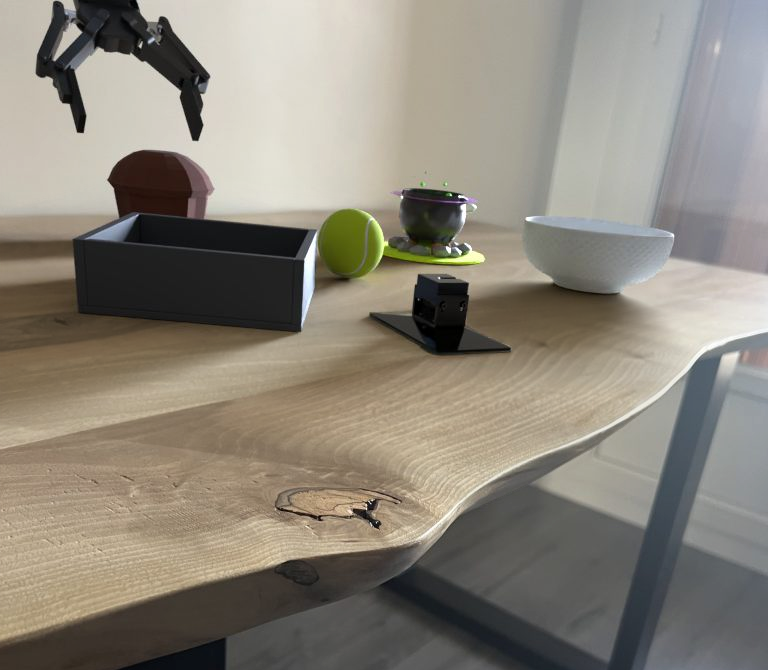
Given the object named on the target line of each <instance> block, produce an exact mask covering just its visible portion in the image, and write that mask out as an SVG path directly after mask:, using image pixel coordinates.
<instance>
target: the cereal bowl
mask: <svg viewBox="0 0 768 670" xmlns="http://www.w3.org/2000/svg"><path fill="white" fill-rule="evenodd" d="M521 234H522V235H521V238H522V242H521V243H522V248H523V252H524V255H525V257H526V259H527V260H528V262H529V263H530V264H531V265H532V266H533V267H534V268H535V269H537V270H538V271H539V272H541V273H542V274H545V275H547V276H548V277H549V278H550V279H551V281H552V282H553V283H554V284H555V285H556V286H559V287H561V288H564V289H569V290H573V291H577V292H584V293H593V294H618V293H620V292H622V291H623V290H624V289H625V288H626V287H631V286H634V285H637V284H640V283H643V282H646V281H648V280H650V279H652V278H653V277H654V276H656V275H657V274H658V273H660V272H661V270H662V269H663V268H665V266H666V263H667V261H668V260H669V257H670V256H671V252H672V249H673V245H674V242H675V234H674V233H672V232H670V231H667V230H664V229H660V228H655V227H651V226H646V225H645V226H644V225H641V224H635V223H627V222H620V221H613V220H604V219H596V218H586V217H575V216H559V215H558V216H557V215H534V216H533V215H532V216H527V217H525V218H524V220H523V225H522V233H521Z"/></svg>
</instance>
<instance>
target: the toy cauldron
mask: <svg viewBox="0 0 768 670" xmlns="http://www.w3.org/2000/svg"><path fill="white" fill-rule="evenodd" d="M438 165H440V163H438V164H437V166H438ZM451 165H452V166H453V167H454V166H455V164H449V166H451ZM427 173H428V172H427V171H424V175H430V174H427ZM412 176H413V175H412ZM413 177H415V176H413ZM426 179H428V180H429V178H426ZM462 181H464V182H468V179H464V178H462ZM419 185H420V186H421V187H422V188H421V187H420V188H419V187H418V188H417V187H408V188H405V189H402V190H397V191H396V190H395V191H389V193H390V194H391V195H392V194H393V195H394V196H398V198H399V199H401V200H400V202H399V213H398V214H399V215H398V218H399V223H400V226H401V230H402V231H403V233H404V234H405V236H392V237H391V238H389V239H388V240H387V241H384V250H383V254H382V256H386V257H391V258H394V259H399V260H404V261H411V262H418V263H425V264H438V265H475V264H476V265H477V264H481V263H483V262H485V256H484V255H483V254H481V253H480V252H477V251H474V250H472V246H471V245H470V244H467V243H466V242H463V243H460V244H459V243H457V242H455V241H453V240H455V238H456V237H458V235H460V233H461V231H462V229H463V227H464V224H465V222H466V215H467V214H471V213H473V212H475V211H476V210H477V206H476V205H475V204H474V203H479V200H477V199H474V198H470V197H467V196H466V197H465V194H463V193H459V192H457V191H449V190H442V189H433V188H423V187H424V186H425V183H424V182H423V181H421V182H420V184H419ZM442 186H443V187H446V186H447V182H445V181H444V182H443V183H442ZM466 205H469V206H471V207H472V209H470V210H467V207H466Z"/></svg>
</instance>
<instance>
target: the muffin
mask: <svg viewBox="0 0 768 670" xmlns="http://www.w3.org/2000/svg"><path fill="white" fill-rule="evenodd" d="M106 181H107V182H108V184H109V185H110V186H111V187H112V188H113V194H114V198H115V203H116V209H117V213H118V219H119V218H121V217H123V216H126V215H128V214H130V213H132V212H137V213H147V214H158V215H168V216H179V217H189V218H200V219H206V213H207V207H208V199H209V197H210V196H212V195H213V193H214V191H215V189H216V188H215V187H214V186H213V183H212V181H211V179H210V177H209V175H208V174H207V172H206V171H205V169H204V168H203V167H201V165H199V164H198V163H197V162H196V161H194V160H193V159H191V158H190V157H188V156H187V155H185V154H183V153H179V152H176V151H172V150H171V151H170V150H161V149H159V150H157V149H141V150H136V151H132V152H131V153H129V154H127V155H125V156H123V157H122V158H121V159H119V160H118V161H117V162H116V163H115V164H114V165H113V167H112V168H111V171H110V173H109V176H108V178H106Z"/></svg>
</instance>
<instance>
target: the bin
mask: <svg viewBox="0 0 768 670" xmlns="http://www.w3.org/2000/svg"><path fill="white" fill-rule="evenodd" d="M318 235H319V229H315V228H305V227H303V228H302V227H295V226H283V225H273V224H262V223H252V222H241V221H231V220H222V219H221V220H219V219H209V218H205V219H200V218H189V217H179V216H168V215H158V214H147V213H137V212H132V213H130V214H128V215H126V216H123V217H121V218H119V217H118V218H116V219H114V220H112V221H109V222H108V223H105V224H102V225H101V226H99V227H96V228H94V229H92V230H90V231H87V232H85V233H83V234H81V235H78V236H76V237H73V238H72V251H73V263H74V276H75V291H76V304H77V312H78V313H80V314H92V315H103V316H113V317H124V318H125V317H126V318H138V319H149V320H159V321H160V320H161V321H172V322H184V323H193V324H194V323H195V324H204V325H206V324H207V325H216V326H226V327H227V326H229V327H238V328H249V329H250V328H252V329H262V330H272V331H274V330H275V331H285V332H286V331H287V332H298V333H301V332H302V330H303V327H304V324H305V320H306V317H307V314H308V311H309V308H310V304H311V300H312V298H313V295H314V292H315V289H316V272H317V271H316V270H317V253H318Z"/></svg>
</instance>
